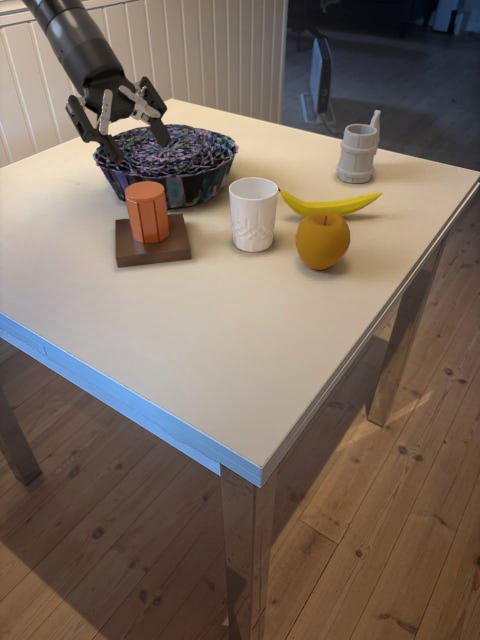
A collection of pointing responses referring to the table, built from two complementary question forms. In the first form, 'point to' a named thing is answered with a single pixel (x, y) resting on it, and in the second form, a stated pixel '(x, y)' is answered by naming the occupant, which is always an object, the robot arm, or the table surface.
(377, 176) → the table surface
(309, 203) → the banana
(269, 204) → the white cup
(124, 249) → the cup stand
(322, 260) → the apple
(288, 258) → the table surface
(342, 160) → the mug
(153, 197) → the orange cup
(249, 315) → the table surface
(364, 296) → the table surface
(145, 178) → the decorative bowl
